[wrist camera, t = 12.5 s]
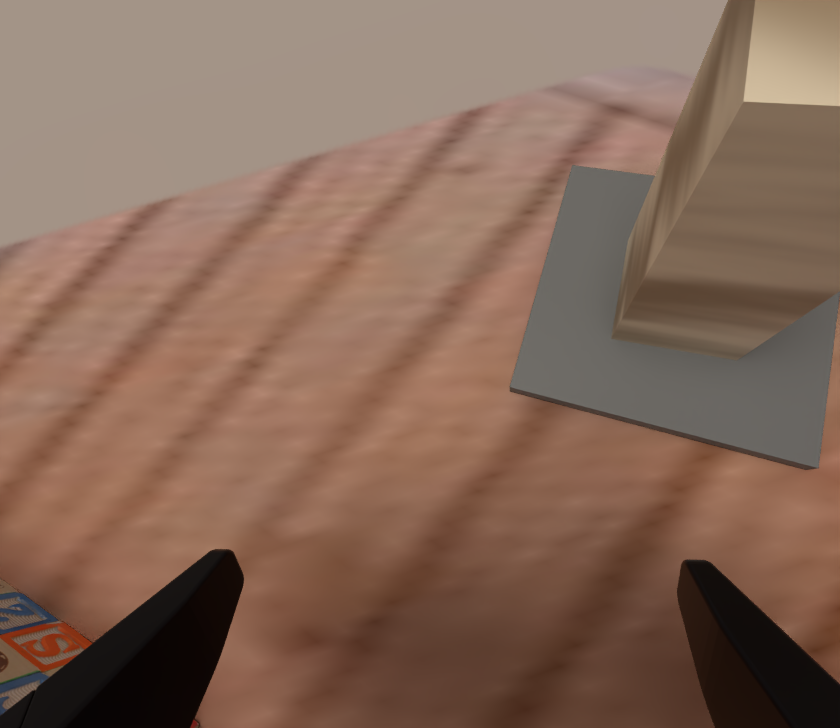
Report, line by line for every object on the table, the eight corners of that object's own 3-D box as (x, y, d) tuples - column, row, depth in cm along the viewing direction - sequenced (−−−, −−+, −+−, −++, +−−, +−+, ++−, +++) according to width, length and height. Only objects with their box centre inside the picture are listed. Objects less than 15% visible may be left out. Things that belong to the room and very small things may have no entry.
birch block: (736, 360, 20) (1097, 118, 7) (610, 338, 21) (743, 101, 9) (747, 254, 21) (1074, -104, 9) (627, 240, 22) (766, -90, 10)
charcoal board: (839, 212, 21) (851, 201, 21) (806, 469, 19) (818, 468, 18) (570, 175, 25) (572, 165, 24) (509, 391, 22) (509, 387, 21)
